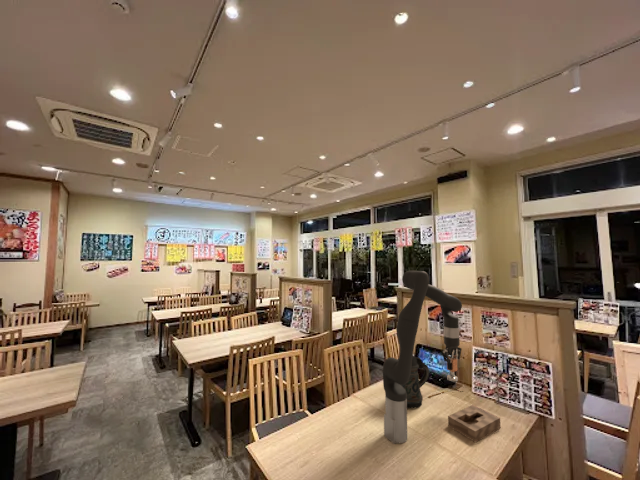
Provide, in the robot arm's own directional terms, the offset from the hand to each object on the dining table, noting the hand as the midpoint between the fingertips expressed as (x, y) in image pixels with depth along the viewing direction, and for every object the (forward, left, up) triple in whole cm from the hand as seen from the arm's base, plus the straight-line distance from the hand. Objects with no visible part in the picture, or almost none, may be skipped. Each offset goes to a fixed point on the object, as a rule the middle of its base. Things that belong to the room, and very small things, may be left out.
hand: (452, 368), depth 144 cm
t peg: (0, 0, -6) cm, 6 cm away
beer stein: (-13, +18, -21) cm, 31 cm away
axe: (+12, +15, -21) cm, 29 cm away
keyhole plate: (-5, -14, -21) cm, 26 cm away
